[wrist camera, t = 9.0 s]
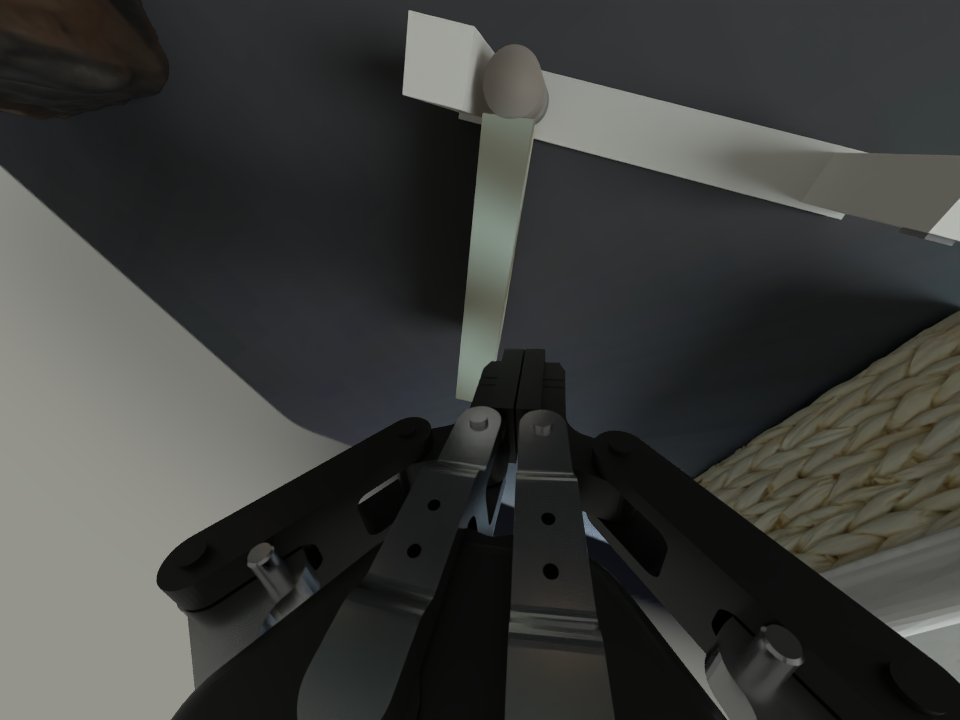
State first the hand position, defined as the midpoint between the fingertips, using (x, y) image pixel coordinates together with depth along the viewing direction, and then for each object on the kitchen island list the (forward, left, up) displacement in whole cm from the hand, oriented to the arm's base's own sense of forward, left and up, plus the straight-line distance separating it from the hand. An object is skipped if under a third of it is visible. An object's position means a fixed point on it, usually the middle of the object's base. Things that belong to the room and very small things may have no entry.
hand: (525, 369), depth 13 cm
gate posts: (+4, +9, -13) cm, 16 cm away
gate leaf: (-3, +2, -12) cm, 12 cm away
